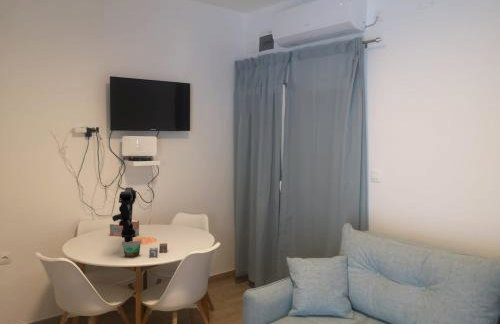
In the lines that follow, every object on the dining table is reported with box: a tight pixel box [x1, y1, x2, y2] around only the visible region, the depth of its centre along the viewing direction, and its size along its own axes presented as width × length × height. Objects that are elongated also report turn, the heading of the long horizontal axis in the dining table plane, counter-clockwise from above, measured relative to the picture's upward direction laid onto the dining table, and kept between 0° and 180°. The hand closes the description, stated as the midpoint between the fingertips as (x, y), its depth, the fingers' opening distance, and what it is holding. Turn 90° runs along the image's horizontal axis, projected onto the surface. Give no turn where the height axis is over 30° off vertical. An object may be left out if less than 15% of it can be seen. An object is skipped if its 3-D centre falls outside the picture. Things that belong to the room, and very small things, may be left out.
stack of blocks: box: [109, 219, 140, 238], centre depth 290 cm, size 21×6×12 cm, turn 84°
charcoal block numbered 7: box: [148, 247, 159, 258], centre depth 243 cm, size 5×5×5 cm
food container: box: [121, 239, 142, 258], centre depth 241 cm, size 12×6×10 cm, turn 103°
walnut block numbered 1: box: [158, 242, 168, 254], centre depth 253 cm, size 5×5×5 cm
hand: (125, 232), depth 251 cm, fingers closed
